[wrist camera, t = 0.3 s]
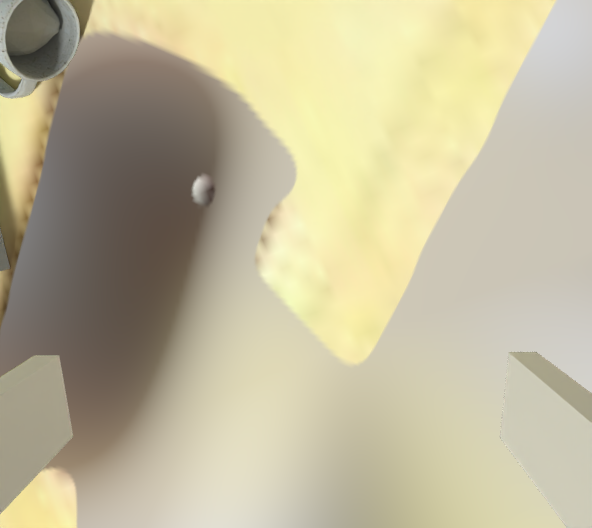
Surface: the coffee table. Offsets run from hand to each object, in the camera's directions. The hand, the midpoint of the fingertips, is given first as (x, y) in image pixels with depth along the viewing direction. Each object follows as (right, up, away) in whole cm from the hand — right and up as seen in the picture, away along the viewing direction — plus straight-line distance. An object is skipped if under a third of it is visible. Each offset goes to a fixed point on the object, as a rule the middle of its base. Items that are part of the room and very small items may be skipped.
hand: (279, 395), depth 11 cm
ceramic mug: (-24, +24, +24) cm, 42 cm away
